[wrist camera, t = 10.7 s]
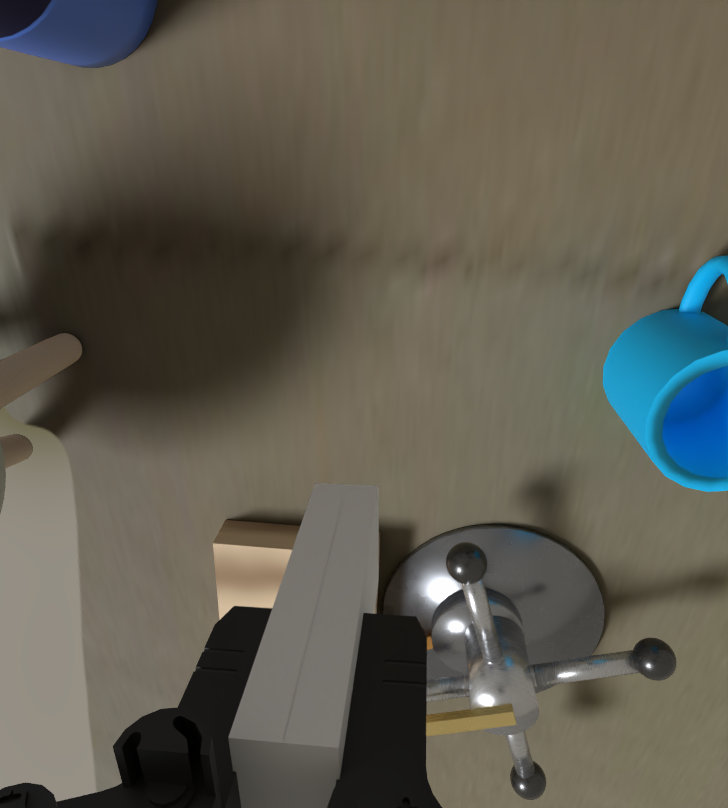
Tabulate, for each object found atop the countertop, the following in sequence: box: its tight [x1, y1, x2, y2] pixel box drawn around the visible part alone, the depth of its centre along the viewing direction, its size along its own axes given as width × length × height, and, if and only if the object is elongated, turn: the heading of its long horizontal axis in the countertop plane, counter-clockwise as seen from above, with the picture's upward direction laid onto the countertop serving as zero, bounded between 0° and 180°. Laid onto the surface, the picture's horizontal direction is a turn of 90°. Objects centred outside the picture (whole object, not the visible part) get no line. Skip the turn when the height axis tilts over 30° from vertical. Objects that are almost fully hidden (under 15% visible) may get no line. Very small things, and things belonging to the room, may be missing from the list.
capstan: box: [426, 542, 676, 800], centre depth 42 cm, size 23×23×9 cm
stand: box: [213, 520, 381, 619], centre depth 47 cm, size 18×12×5 cm, turn 178°
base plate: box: [383, 524, 604, 697], centre depth 47 cm, size 17×17×1 cm
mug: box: [603, 255, 728, 492], centre depth 34 cm, size 12×8×8 cm
